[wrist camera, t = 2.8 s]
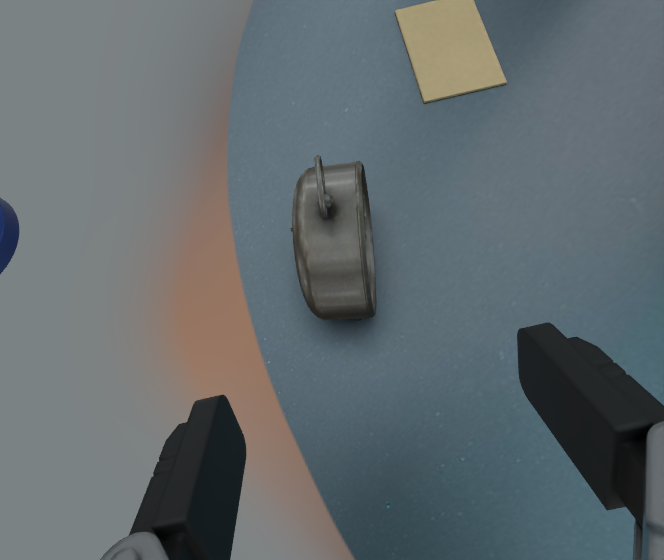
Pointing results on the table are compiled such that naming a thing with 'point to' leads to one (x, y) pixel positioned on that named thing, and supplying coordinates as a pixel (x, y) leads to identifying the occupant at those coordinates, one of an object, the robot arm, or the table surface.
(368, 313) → the alarm clock
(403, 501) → the table surface
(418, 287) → the table surface
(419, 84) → the mat
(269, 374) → the table surface
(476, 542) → the table surface
